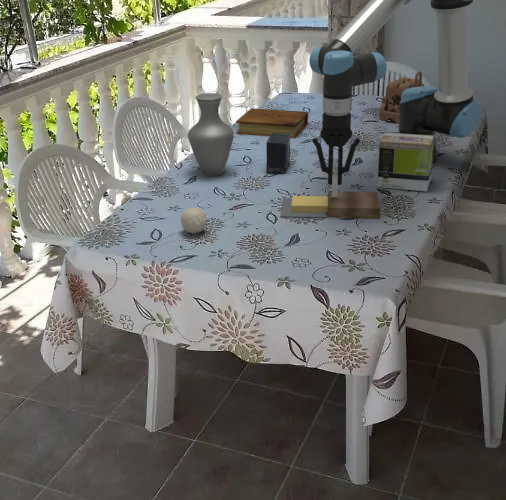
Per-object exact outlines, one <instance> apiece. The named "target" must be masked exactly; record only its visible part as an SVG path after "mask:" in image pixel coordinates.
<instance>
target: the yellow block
mask: <svg viewBox="0 0 506 500" xmlns="http://www.w3.org/2000/svg"><path fill="white" fill-rule="evenodd" d="M291 198H292V212H313V213H326V214H328V195H326V196H323V195H322V196H320V195H317V196H315V195H312V196H311V195H310V196H309V195H292V197H291Z"/></svg>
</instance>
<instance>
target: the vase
mask: <svg viewBox="0 0 506 500" xmlns="http://www.w3.org/2000/svg"><path fill="white" fill-rule="evenodd" d="M222 98H223V94H221V93H218V92H217V93H214V92H211V93H210V92H208V93H207V92H206V93H200V94H198V95H196V96H195V100H196V102H197V104H198V107H199V109H200V115H199V116H200V117H199V120H198V121H197V122H196V124H194V125H192V127H191V128H189V130H188V132H187V138H188V142H189V145H190V148H191V150H192V153H193V156H194V158H195V160H196V163H197V165H198V167H199V168H200V171H201V172H202V175H204V176H206V177H218V176H221V175H222V174H223V173H224V171H225V168H226V166H227V163H228V160H229V157H230V152H231V150H232V146H233V141H234V137H235V136H234V135H235V133H234V130H233V128H232V127H231V126H230V125H228V124H227V123H225V122H224V121H223V120H222V118H221V116H220V112H219V108H220V105H221V101H222Z"/></svg>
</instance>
